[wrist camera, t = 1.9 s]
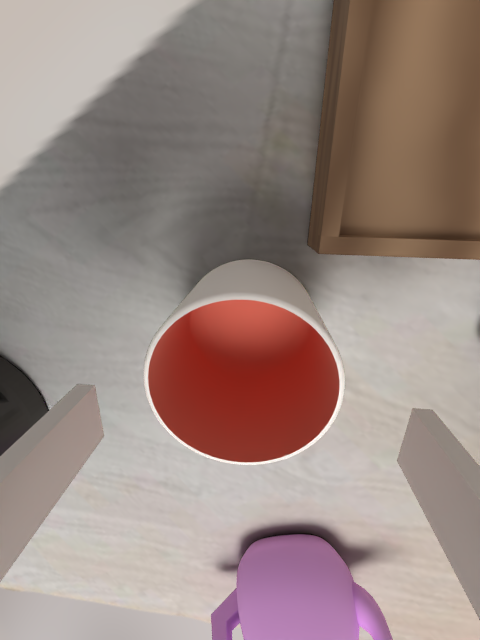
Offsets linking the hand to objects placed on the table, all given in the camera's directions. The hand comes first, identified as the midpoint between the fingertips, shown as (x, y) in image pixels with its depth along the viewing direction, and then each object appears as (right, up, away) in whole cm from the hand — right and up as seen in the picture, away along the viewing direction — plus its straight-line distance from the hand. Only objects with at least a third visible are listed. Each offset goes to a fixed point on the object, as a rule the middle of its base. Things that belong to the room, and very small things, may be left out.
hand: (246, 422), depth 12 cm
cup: (+1, +5, +12) cm, 12 cm away
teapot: (+7, -25, +22) cm, 34 cm away
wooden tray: (+12, +16, +6) cm, 21 cm away
